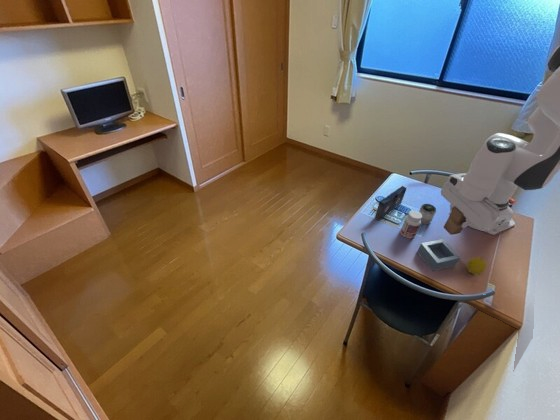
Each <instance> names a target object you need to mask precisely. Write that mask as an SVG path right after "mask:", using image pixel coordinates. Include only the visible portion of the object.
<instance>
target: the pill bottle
mask: <svg viewBox="0 0 560 420" xmlns="http://www.w3.org/2000/svg"><path fill="white" fill-rule="evenodd" d="M421 218H422V214H421V213H420V212H419V211H418V210H415V209H414V210H413V209H412V210H410V211H409V212H408V214H407V216H406V217H405V218H404V221H403V223H402V226H401V229H400V234H401V235H402V236H403V237H405V238H407V239H412V238H415V237H416V235H417V234H418V230H419V228H420V226H421V225H422V223H421Z"/></svg>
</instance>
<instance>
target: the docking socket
mask: <svg viewBox="0 0 560 420" xmlns="http://www.w3.org/2000/svg"><path fill="white" fill-rule="evenodd" d="M416 252H417V253H418V255H419V256H420V257H421V259H423V261H424V262H425V264H427V266H428V267H429V269H430V270H431V271H432V272H435V271H439V270H440V271H441V270H443V269H449V268H454V267H456V265H458V262H460V259H461V257H460V256H459V254H458V253H457V252H456V251H455V250H454V249H453V248H452V247H451V246H450V245H449V243H448V242H446V240H445V239H444V238H442V239H435V240H432V241H426V242H421V243H420V245H419V247H418V249H417V251H416Z"/></svg>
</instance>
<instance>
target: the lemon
mask: <svg viewBox="0 0 560 420" xmlns="http://www.w3.org/2000/svg"><path fill="white" fill-rule="evenodd" d="M486 268H487V263H486V261H485V260H484V259H483V258H482V257H477V256H476V257H475V256H474V257H472V258H471V259H469V261H468V262H467V264H466V269H467V270H468V271H467V272H469V273H470V274H472V275H481V274H482V273H484V272H485V270H486Z"/></svg>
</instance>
